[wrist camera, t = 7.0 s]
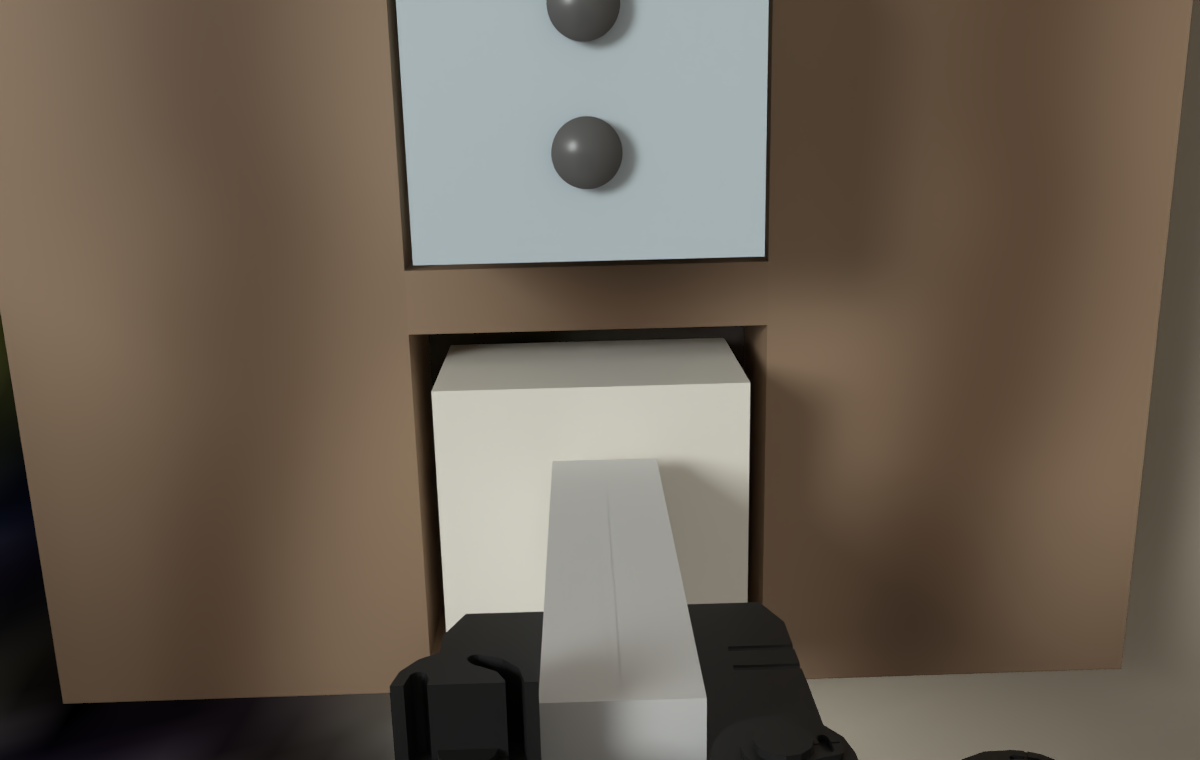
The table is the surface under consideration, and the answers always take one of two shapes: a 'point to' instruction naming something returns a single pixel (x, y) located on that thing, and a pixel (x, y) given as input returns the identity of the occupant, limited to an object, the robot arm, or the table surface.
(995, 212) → the board
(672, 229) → the two-dot tile
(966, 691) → the table surface
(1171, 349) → the table surface
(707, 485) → the tile
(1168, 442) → the table surface
